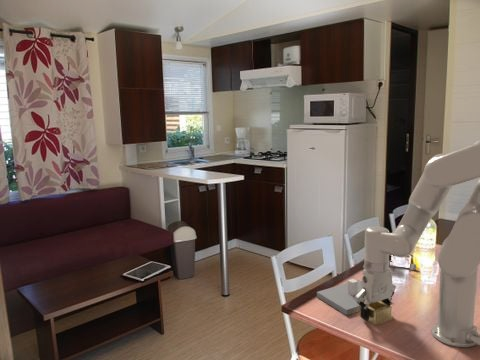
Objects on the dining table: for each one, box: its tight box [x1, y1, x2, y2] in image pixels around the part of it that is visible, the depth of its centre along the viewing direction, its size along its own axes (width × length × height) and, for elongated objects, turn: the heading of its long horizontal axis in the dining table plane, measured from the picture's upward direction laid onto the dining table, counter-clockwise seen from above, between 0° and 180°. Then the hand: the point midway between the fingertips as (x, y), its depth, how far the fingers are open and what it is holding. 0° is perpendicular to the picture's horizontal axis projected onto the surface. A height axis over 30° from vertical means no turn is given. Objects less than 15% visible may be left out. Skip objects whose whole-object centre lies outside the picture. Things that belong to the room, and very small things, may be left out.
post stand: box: [316, 278, 382, 316], centre depth 150 cm, size 16×20×7 cm
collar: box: [359, 301, 393, 326], centre depth 136 cm, size 7×7×4 cm
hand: (375, 314), depth 137 cm, fingers open, 8 cm apart
